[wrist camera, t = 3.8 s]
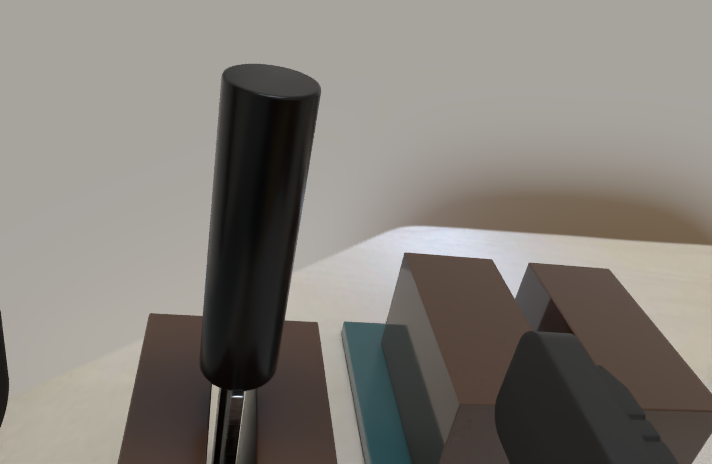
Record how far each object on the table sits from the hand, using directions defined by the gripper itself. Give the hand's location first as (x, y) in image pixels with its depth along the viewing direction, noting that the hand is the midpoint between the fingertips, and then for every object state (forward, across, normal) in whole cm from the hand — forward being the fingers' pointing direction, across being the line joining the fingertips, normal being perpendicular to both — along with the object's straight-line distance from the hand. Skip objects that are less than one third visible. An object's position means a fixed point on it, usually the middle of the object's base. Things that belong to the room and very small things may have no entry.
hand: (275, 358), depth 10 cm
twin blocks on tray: (+17, -17, +20) cm, 31 cm away
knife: (+9, 0, +20) cm, 22 cm away
